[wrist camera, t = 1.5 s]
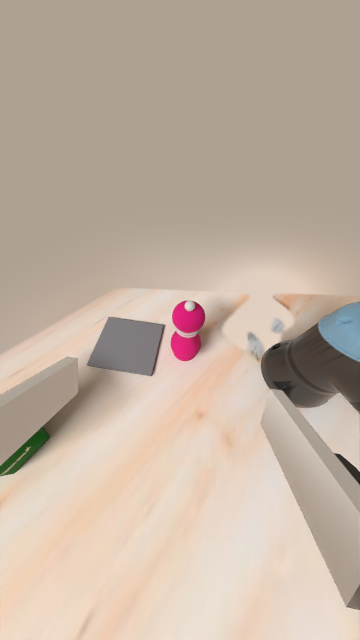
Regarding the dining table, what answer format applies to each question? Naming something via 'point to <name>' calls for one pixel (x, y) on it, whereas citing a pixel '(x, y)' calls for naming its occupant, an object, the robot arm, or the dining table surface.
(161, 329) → the rubber mat
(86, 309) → the dining table surface
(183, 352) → the pepper mill
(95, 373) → the dining table surface
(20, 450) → the milk carton
